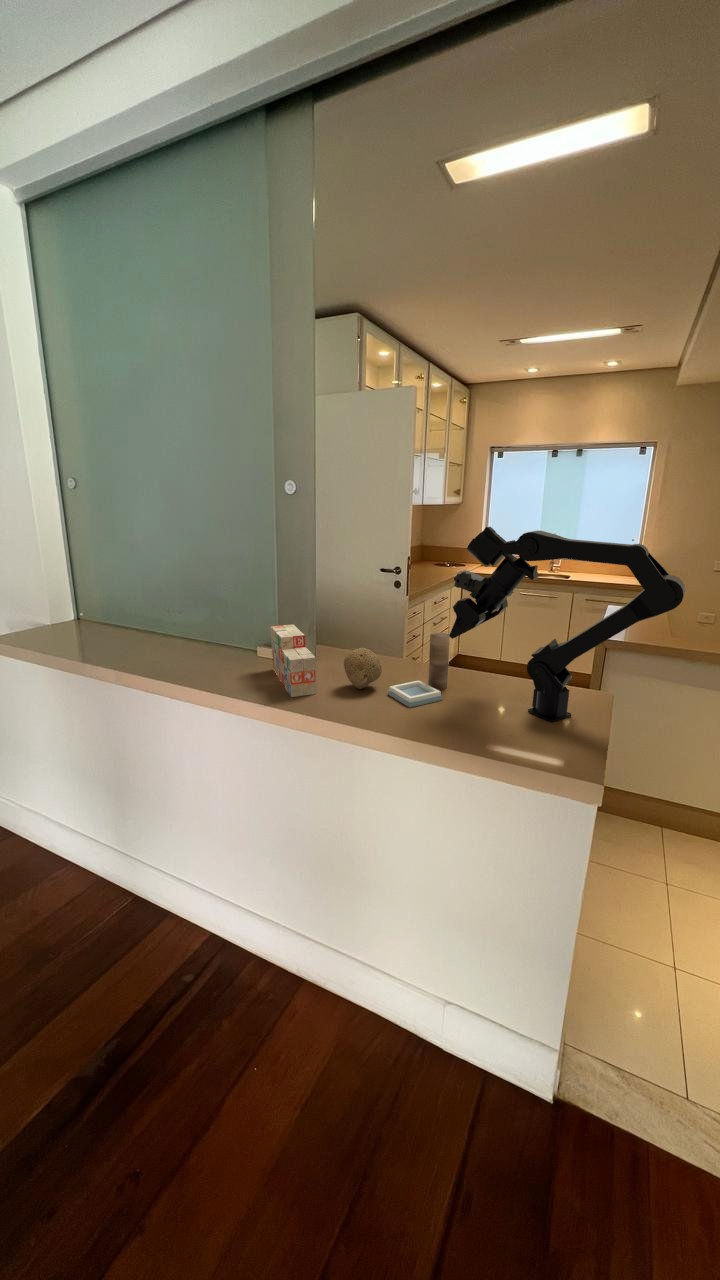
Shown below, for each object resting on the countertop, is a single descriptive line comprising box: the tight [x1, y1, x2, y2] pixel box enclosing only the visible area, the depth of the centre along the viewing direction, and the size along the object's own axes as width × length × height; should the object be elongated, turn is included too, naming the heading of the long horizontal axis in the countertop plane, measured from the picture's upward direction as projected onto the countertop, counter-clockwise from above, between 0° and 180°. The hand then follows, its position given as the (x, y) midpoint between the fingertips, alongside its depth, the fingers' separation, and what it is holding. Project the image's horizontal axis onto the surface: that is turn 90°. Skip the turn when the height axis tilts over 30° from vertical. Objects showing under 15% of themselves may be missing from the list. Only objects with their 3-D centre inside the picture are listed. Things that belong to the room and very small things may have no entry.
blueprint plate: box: [387, 680, 443, 708], centre depth 119 cm, size 9×9×2 cm
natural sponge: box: [343, 647, 383, 690], centre depth 123 cm, size 9×9×10 cm
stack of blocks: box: [270, 624, 317, 698], centre depth 128 cm, size 21×6×12 cm, turn 21°
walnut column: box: [427, 632, 451, 691], centre depth 124 cm, size 5×5×13 cm
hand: (459, 632), depth 117 cm, fingers open, 9 cm apart
